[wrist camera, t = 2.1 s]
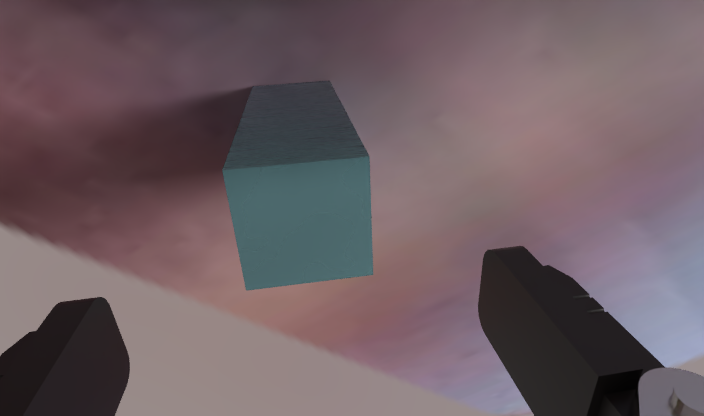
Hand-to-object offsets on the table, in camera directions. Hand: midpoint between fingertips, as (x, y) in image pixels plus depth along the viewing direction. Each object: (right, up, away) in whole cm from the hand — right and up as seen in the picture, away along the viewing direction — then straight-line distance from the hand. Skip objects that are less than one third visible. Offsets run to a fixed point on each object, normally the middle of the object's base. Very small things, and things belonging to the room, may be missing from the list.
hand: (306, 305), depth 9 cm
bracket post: (-2, +7, +14) cm, 16 cm away
